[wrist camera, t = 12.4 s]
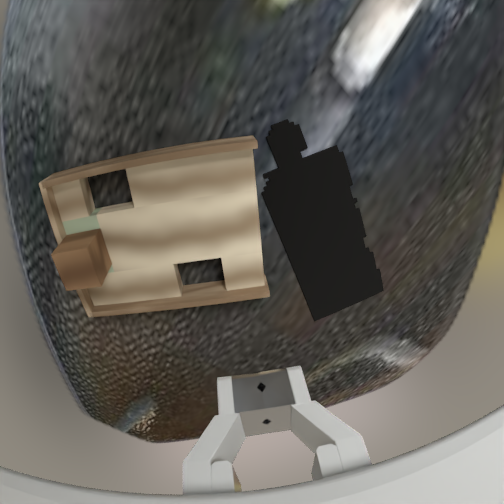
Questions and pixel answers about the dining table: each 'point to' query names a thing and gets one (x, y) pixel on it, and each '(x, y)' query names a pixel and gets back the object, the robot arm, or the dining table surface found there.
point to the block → (82, 260)
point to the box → (168, 225)
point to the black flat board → (319, 223)
